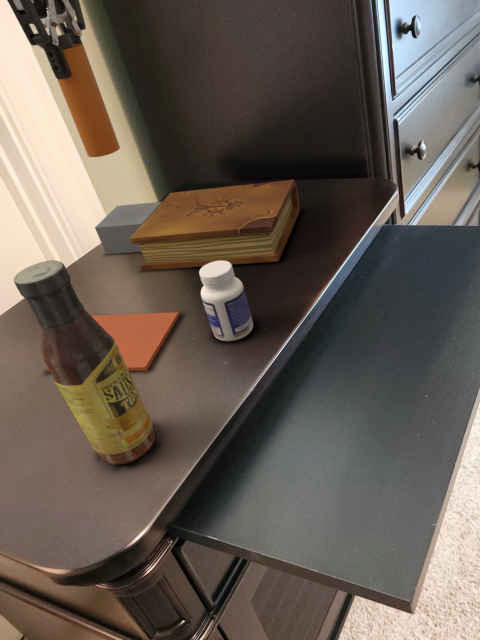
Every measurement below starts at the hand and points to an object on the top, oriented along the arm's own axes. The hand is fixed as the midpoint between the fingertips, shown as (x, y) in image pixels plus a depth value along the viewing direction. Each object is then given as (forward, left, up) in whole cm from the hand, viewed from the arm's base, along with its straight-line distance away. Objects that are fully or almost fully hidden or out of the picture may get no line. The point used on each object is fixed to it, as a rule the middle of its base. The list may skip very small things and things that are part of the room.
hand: (73, 72), depth 76 cm
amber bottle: (0, 0, -11) cm, 11 cm away
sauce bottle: (+20, -48, -27) cm, 59 cm away
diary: (+17, -1, -27) cm, 32 cm away
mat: (+10, -30, -26) cm, 42 cm away
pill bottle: (+26, -28, -27) cm, 47 cm away
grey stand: (0, +1, -26) cm, 26 cm away
